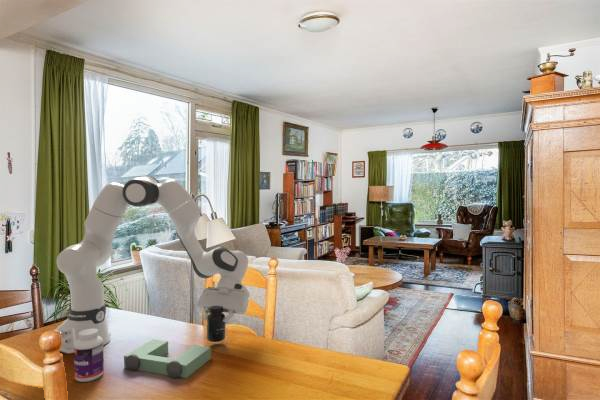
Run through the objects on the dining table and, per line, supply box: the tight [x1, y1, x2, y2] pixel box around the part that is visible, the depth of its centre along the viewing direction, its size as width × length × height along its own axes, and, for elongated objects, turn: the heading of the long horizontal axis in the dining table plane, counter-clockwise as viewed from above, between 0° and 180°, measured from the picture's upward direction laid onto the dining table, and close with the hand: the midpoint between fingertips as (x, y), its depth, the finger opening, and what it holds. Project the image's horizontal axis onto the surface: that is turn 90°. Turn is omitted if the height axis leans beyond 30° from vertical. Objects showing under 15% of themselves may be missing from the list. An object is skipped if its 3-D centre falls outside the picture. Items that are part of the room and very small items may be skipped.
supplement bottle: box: [206, 306, 226, 343], centre depth 142 cm, size 7×7×12 cm
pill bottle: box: [73, 329, 105, 383], centre depth 119 cm, size 8×8×14 cm
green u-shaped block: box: [123, 338, 212, 379], centre depth 127 cm, size 24×15×5 cm, turn 71°
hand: (215, 321), depth 142 cm, fingers closed on supplement bottle, 7 cm apart
